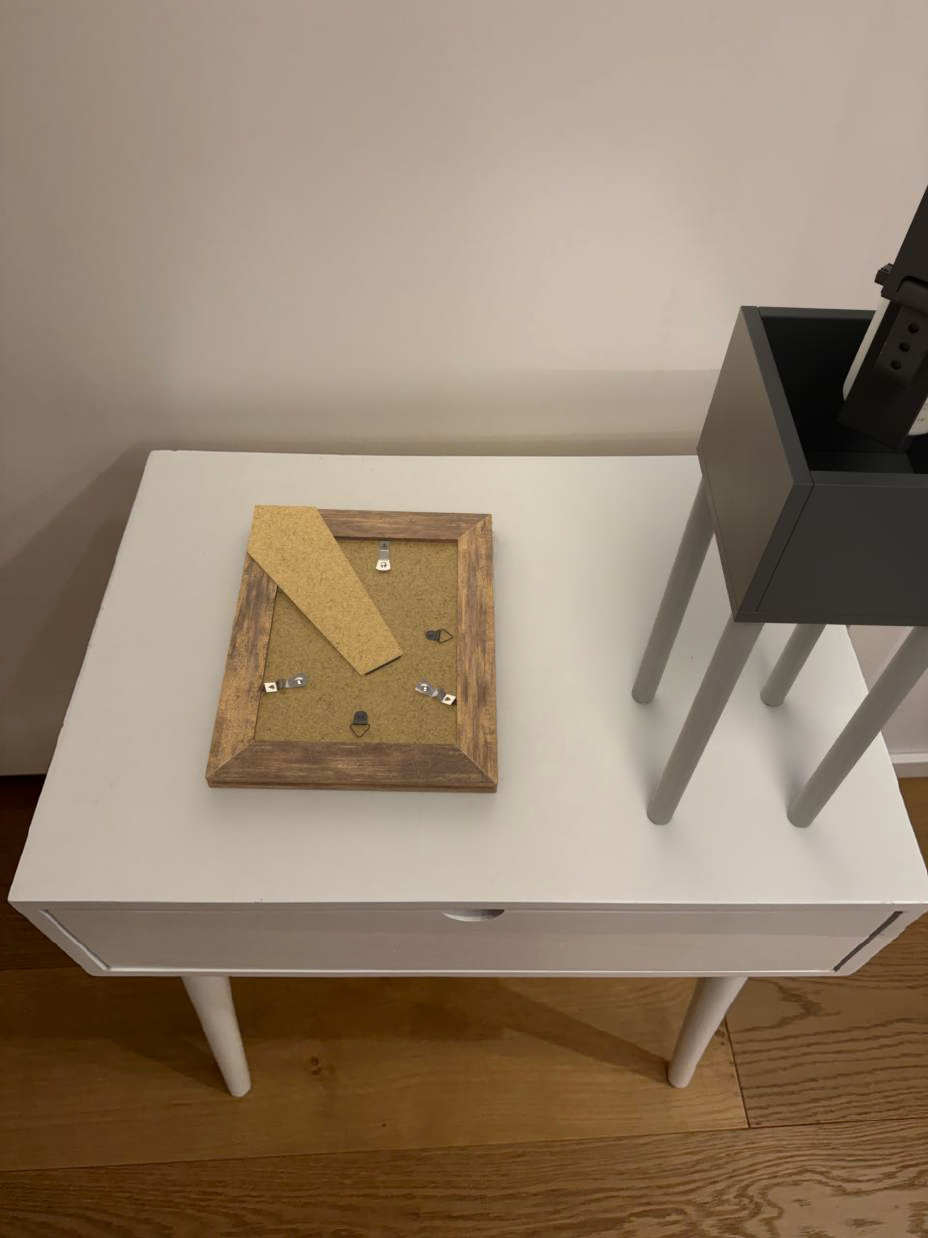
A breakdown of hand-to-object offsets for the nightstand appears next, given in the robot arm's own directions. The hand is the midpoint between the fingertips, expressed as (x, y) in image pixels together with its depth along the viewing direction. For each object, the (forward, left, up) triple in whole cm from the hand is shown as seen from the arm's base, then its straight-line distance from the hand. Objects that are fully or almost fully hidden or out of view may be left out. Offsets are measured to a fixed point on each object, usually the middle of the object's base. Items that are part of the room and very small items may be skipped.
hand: (895, 399), depth 41 cm
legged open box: (0, 0, -30) cm, 30 cm away
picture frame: (+24, +9, -30) cm, 40 cm away
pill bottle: (0, 0, 0) cm, 0 cm away
